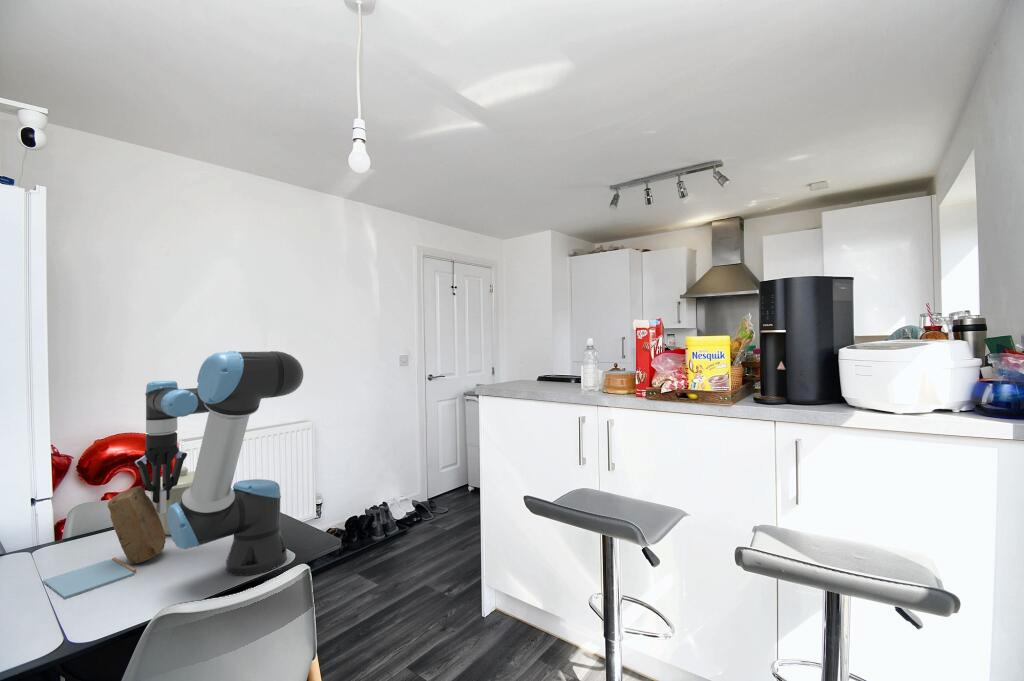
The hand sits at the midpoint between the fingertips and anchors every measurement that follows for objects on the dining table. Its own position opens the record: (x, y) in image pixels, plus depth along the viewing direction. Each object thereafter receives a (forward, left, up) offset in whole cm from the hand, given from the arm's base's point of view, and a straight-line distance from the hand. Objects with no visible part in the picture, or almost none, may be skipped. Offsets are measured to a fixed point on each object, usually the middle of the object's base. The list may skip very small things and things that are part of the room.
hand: (161, 512), depth 138 cm
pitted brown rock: (0, +3, -12) cm, 12 cm away
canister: (+17, -12, -13) cm, 25 cm away
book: (0, +17, -13) cm, 21 cm away
